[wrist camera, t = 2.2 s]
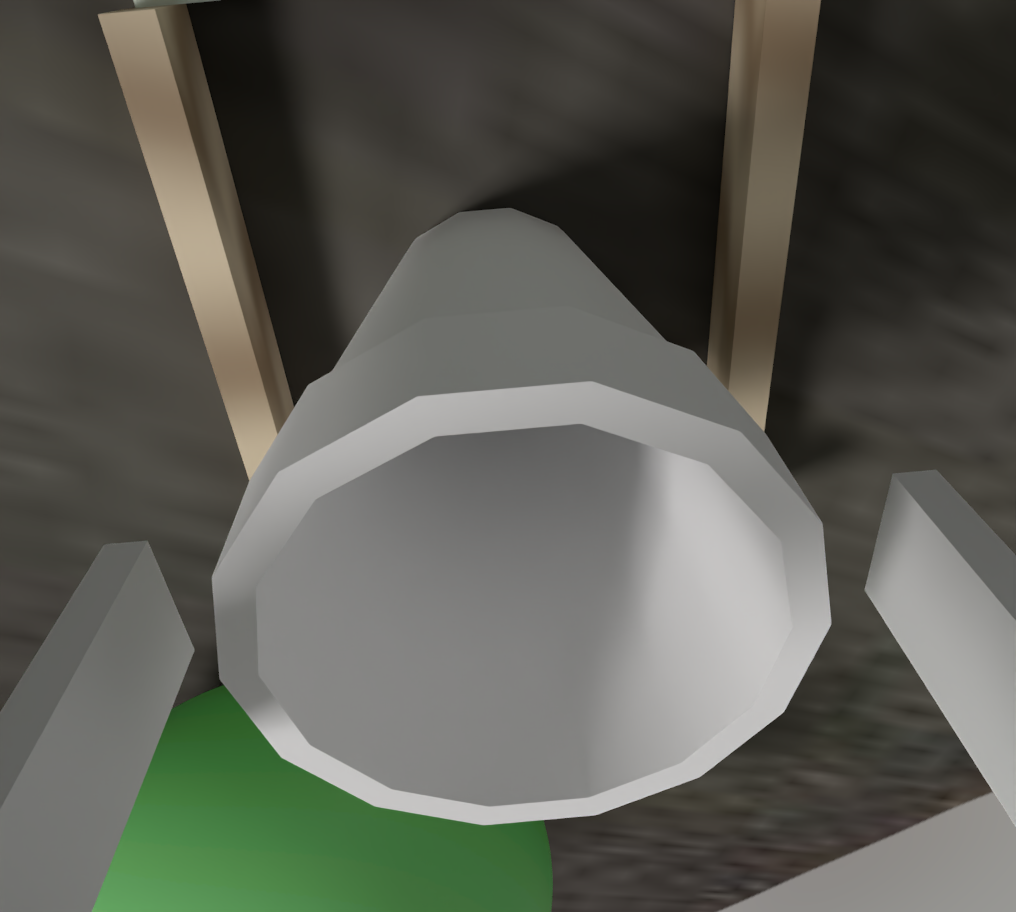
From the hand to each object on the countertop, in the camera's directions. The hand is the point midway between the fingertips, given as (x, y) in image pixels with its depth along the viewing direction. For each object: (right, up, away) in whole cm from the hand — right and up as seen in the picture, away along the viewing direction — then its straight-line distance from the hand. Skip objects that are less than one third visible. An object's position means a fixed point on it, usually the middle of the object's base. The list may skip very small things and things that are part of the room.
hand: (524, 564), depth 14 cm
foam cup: (-1, +6, +9) cm, 11 cm away
